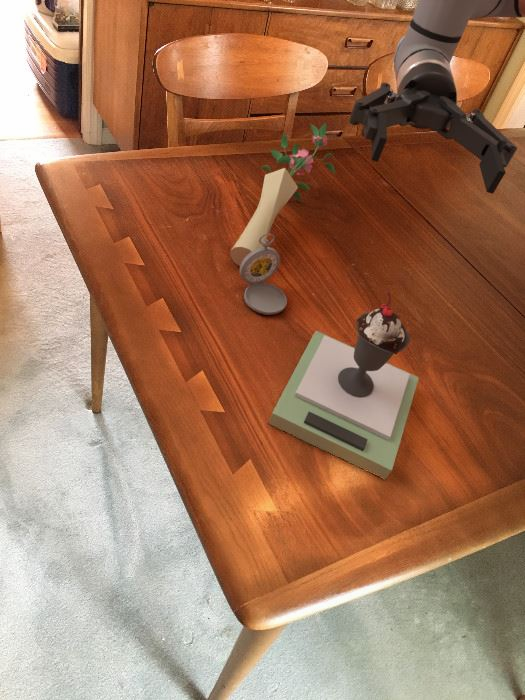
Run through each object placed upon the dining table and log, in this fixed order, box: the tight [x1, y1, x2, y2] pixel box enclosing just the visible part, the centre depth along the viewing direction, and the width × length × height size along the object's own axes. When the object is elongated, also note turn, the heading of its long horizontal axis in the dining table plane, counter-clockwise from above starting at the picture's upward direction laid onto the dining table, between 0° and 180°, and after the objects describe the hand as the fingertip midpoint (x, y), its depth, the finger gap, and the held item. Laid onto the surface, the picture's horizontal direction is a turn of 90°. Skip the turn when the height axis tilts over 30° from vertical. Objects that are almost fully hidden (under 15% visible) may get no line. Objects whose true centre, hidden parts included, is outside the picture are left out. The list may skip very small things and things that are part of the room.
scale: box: [267, 330, 420, 480], centre depth 74 cm, size 16×17×3 cm
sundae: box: [338, 288, 411, 397], centre depth 69 cm, size 7×7×15 cm
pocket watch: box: [239, 233, 288, 316], centre depth 83 cm, size 8×8×10 cm
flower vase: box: [229, 122, 337, 267], centre depth 99 cm, size 12×12×35 cm
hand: (438, 166), depth 61 cm, fingers open, 13 cm apart
